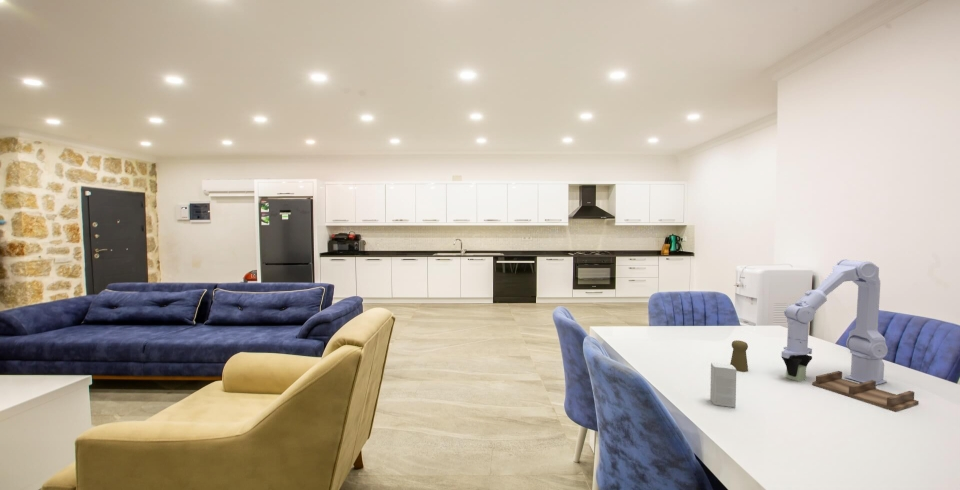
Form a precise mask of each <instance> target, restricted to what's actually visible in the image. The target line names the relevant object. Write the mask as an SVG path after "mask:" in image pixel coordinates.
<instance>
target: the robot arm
mask: <svg viewBox="0 0 960 490" xmlns="http://www.w3.org/2000/svg"><path fill="white" fill-rule="evenodd" d="M879 271H880V267H879V266H877V265H876V264H874V262H872V261H867V260H866V261H864V260H863V261H861V260H860V261H859V260H850V259H841V260H839V261H838V262H837V263H836V264H834V265H833V266H832V271H831V273H830V274H829V275H827V277H826V278H825V279H824V280H823V281H822V282H821V284H820V285H818V286H817V288H816V289H809V290H807V291H805V293H804V295H803V296H802V297H801V298H800V299H798V300H797V301H796V302H795V303H794V304H793V303H792V304H790V305H789V306H787V307H786V309H785V311H783V314H784V316H785V318H786V322H787V339H786V346H784V347H783V351H781V358H782V360H783V363H784V364H785V367H786V371H788V375H790V376H793V377H796V375H797V370H798V366H799V365H803V366H806V368H807V367H808V365H809V363H810V362H811V361H812V360H813V356H812V355H811V354H813V348H812V347H808V346H809V324H810V322H812V321H813V320H814V318H815V314H816V311H818V309H819V308H821V306H823V305H824V304H825V303H826V302H827V301H828V300H827V299H828V298H827V296H828V295H829V294H830V293H832V292H833V291H834V290H836V289H838V287H839V286H840V285H842V284H843V283H845V282H852V283H854V284H855V285H856V286H857V287H858V288H857V303H856V319H855V328H853V329H851V330H850V331H849V332H848V333H849V334H848V337H847V339H846V341H845V345H846V347H847V349H848V350H849V353H850V354H851V361H850V363H851V364H850V374H849V375H845V376H844V378H845V379H848V380H852V381H856V382H859V383H863V382H867V381H871V380H873V381H876V386H878V385H881V384H884V383H887V382H888V380H886V379H884V375H885V364H884V363H885V362H884V361H883V359H884V358H885V357H886V356H887V355H888V349H889V347H888V346H887V344H886V343H887V342H886V338H885V337H884V336H883V335H882V334H881V332H879V331H878V328H879V311H880V298H881V297H880V296H881V280H880V278H879V275H880V274H879V273H880V272H879Z"/></svg>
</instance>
